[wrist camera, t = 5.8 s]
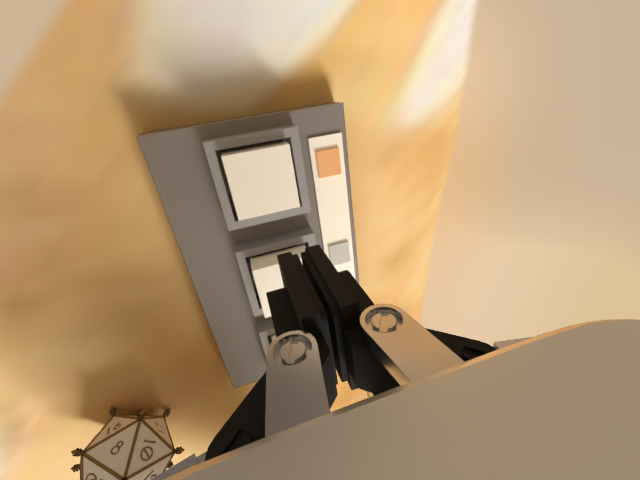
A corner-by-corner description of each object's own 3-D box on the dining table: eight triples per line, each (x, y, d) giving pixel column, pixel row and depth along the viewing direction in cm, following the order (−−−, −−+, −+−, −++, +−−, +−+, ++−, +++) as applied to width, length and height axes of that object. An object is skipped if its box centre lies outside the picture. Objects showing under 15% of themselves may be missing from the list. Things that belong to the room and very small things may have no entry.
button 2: (294, 198, 24) (300, 206, 22) (237, 211, 23) (238, 221, 21) (283, 140, 22) (289, 144, 20) (221, 151, 21) (221, 156, 19)
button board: (357, 332, 35) (370, 354, 32) (233, 372, 32) (234, 401, 29) (334, 102, 24) (350, 102, 21) (143, 133, 21) (130, 138, 18)
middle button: (312, 288, 26) (318, 302, 25) (261, 303, 26) (264, 318, 24) (304, 244, 25) (310, 255, 23) (249, 258, 24) (252, 270, 22)
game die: (131, 398, 34) (28, 502, 26) (141, 364, 29) (19, 478, 21) (195, 447, 34) (113, 567, 25) (216, 420, 29) (123, 558, 21)
